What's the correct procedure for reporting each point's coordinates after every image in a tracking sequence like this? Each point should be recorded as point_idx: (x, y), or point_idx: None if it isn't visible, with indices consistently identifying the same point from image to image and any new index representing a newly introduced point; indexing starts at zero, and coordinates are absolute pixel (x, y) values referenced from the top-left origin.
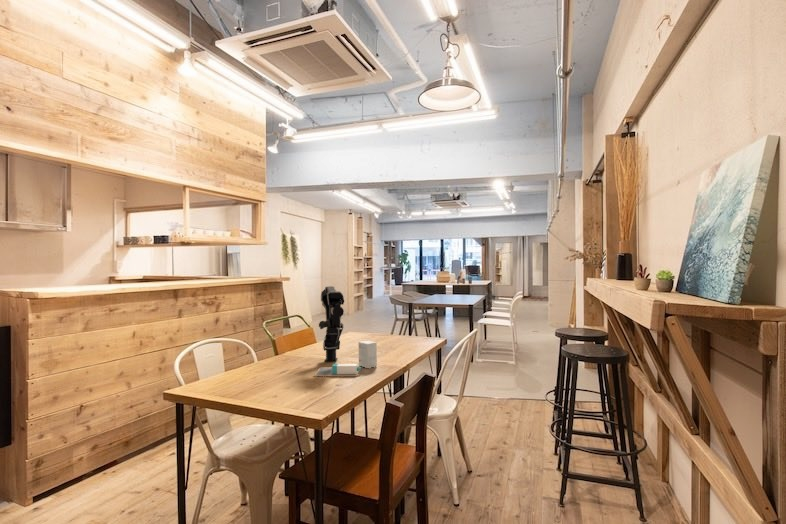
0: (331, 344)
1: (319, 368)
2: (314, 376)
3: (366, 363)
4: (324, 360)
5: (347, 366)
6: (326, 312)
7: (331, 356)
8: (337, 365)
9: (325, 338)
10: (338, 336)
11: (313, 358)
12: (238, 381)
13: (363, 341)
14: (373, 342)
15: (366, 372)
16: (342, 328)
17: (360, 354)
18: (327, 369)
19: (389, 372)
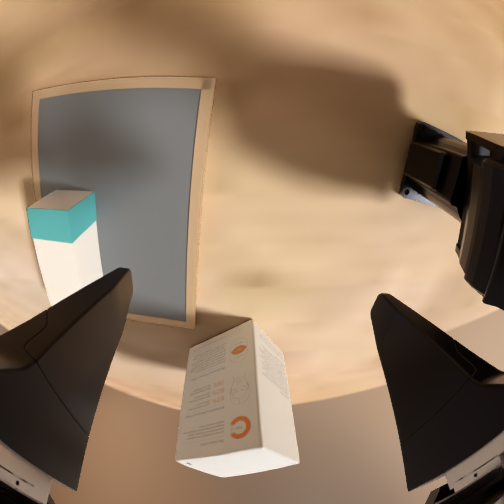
0: (474, 215)
1: (183, 79)
2: (36, 95)
3: (191, 365)
4: (423, 122)
5: (49, 291)
6: None
7: (420, 176)
8: (42, 240)
9: None
10: (400, 387)
11: (486, 77)
12: None
13: (269, 458)
14: (225, 474)
15: (131, 338)
16: (431, 493)
17: (235, 381)
18: (153, 141)
19: (144, 393)
